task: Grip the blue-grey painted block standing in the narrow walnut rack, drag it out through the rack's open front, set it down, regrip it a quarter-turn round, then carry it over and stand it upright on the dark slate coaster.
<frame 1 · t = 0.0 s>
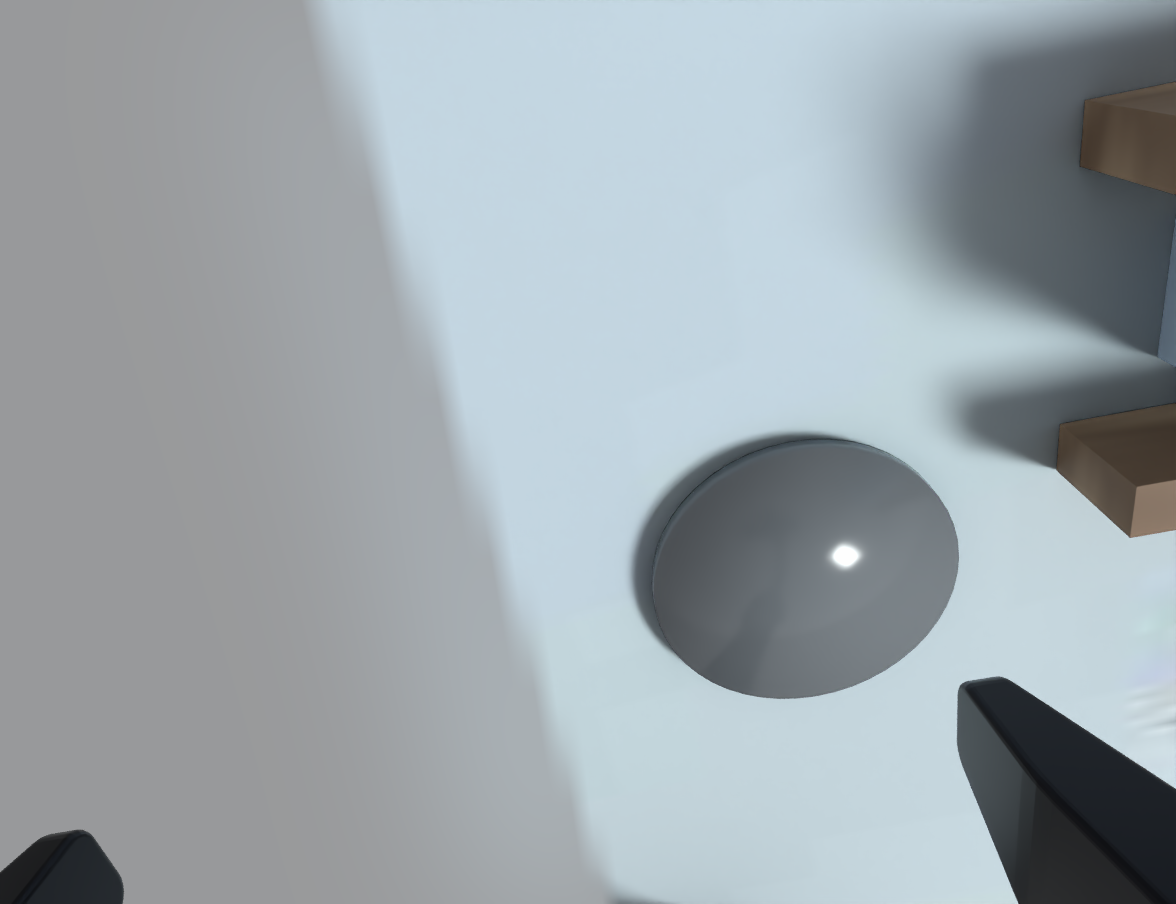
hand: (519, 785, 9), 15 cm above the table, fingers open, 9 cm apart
coaster: (800, 572, 26), on the table
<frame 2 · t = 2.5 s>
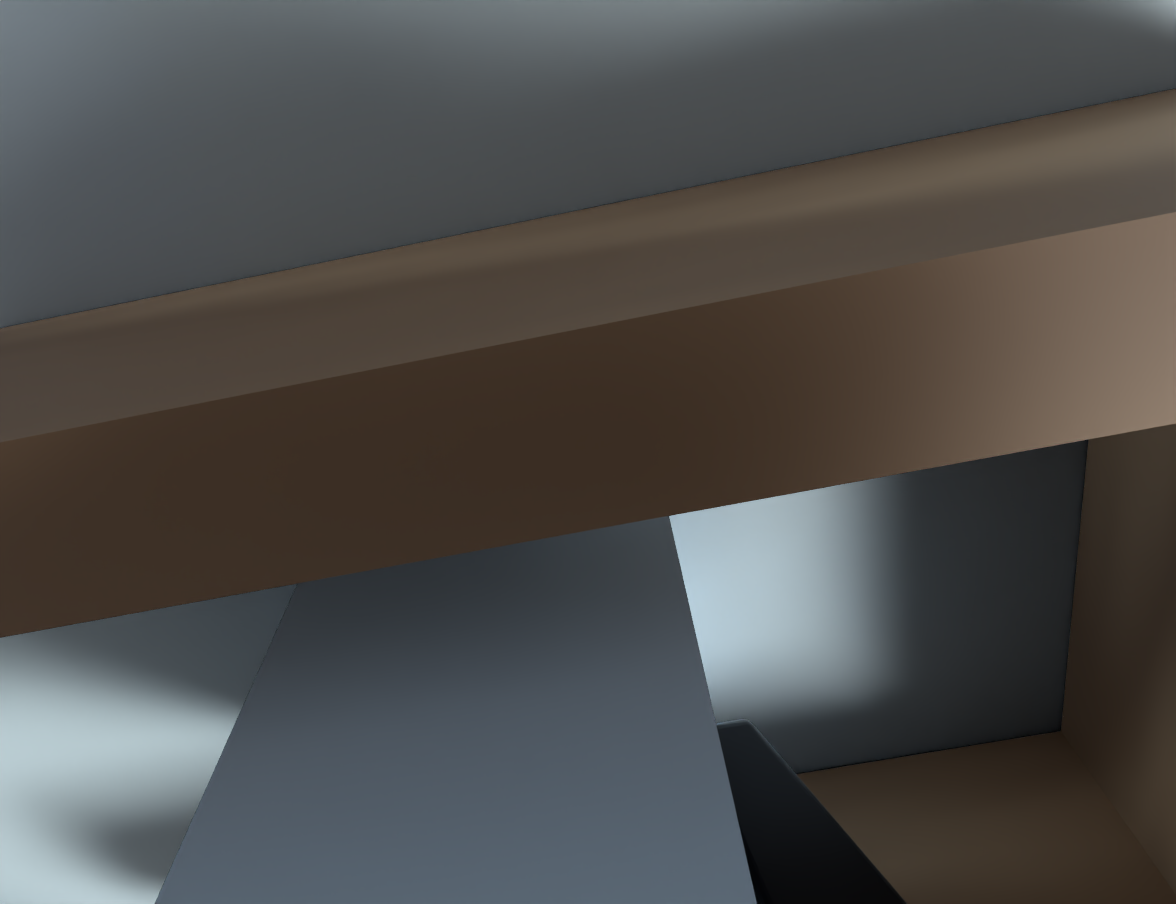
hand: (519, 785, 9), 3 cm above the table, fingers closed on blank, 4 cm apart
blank: (526, 624, 11), resting in rack, touching gripper
rack: (450, 639, 11), on the table
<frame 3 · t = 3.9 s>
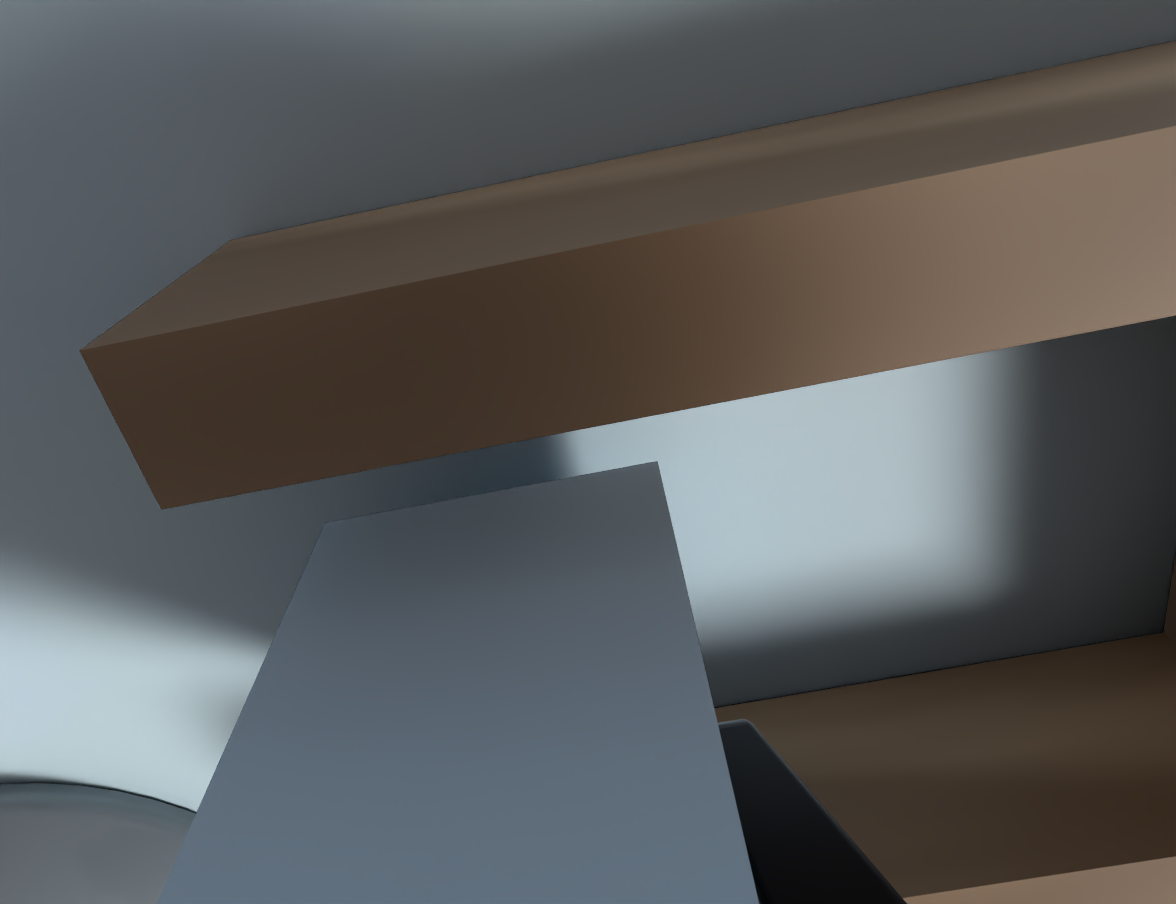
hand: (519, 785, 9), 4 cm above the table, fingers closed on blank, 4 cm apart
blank: (527, 624, 11), point 1 cm above the table, touching gripper
rack: (608, 540, 12), on the table
when the fingers open (3 cm above the table, at t = 5.5 s): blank stays where it is, on the table.
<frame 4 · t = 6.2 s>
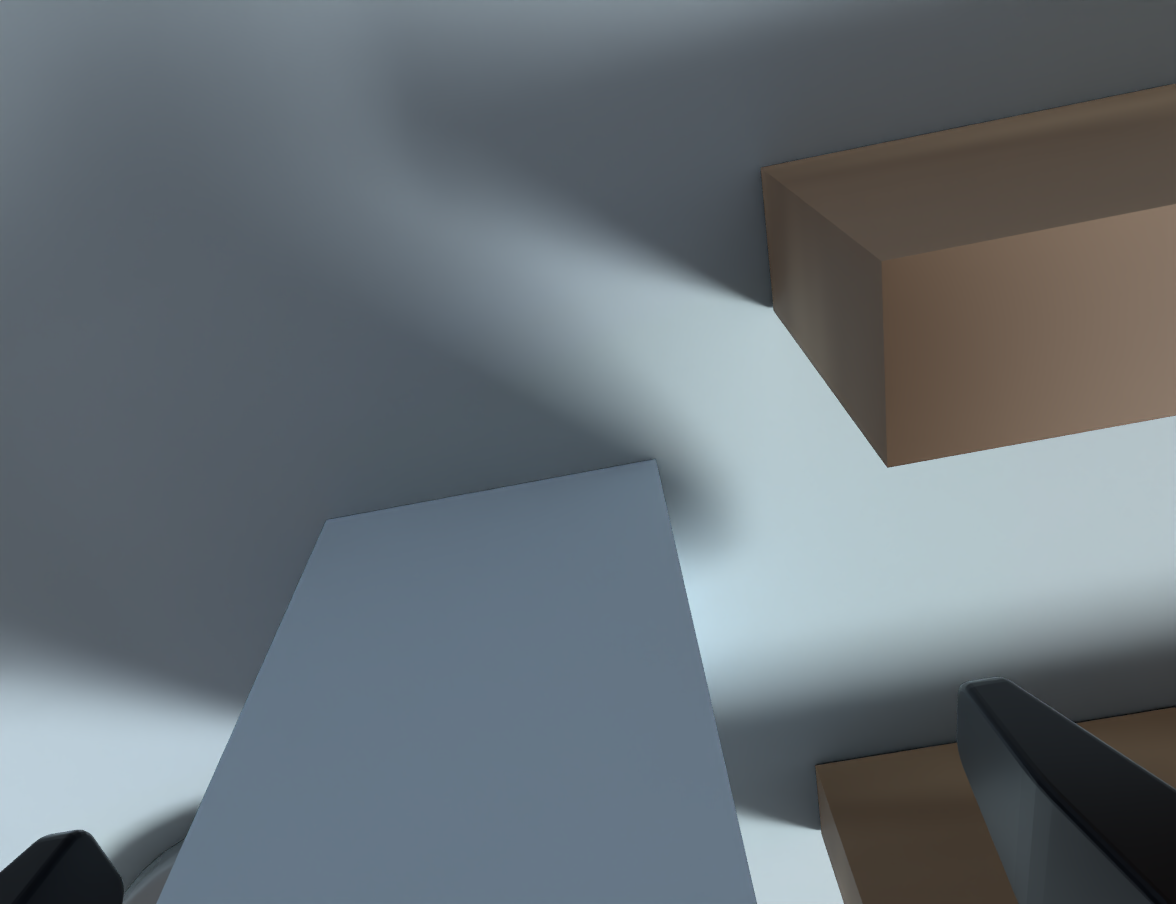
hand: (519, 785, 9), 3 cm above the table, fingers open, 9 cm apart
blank: (526, 620, 11), on the table
rack: (1078, 523, 10), on the table
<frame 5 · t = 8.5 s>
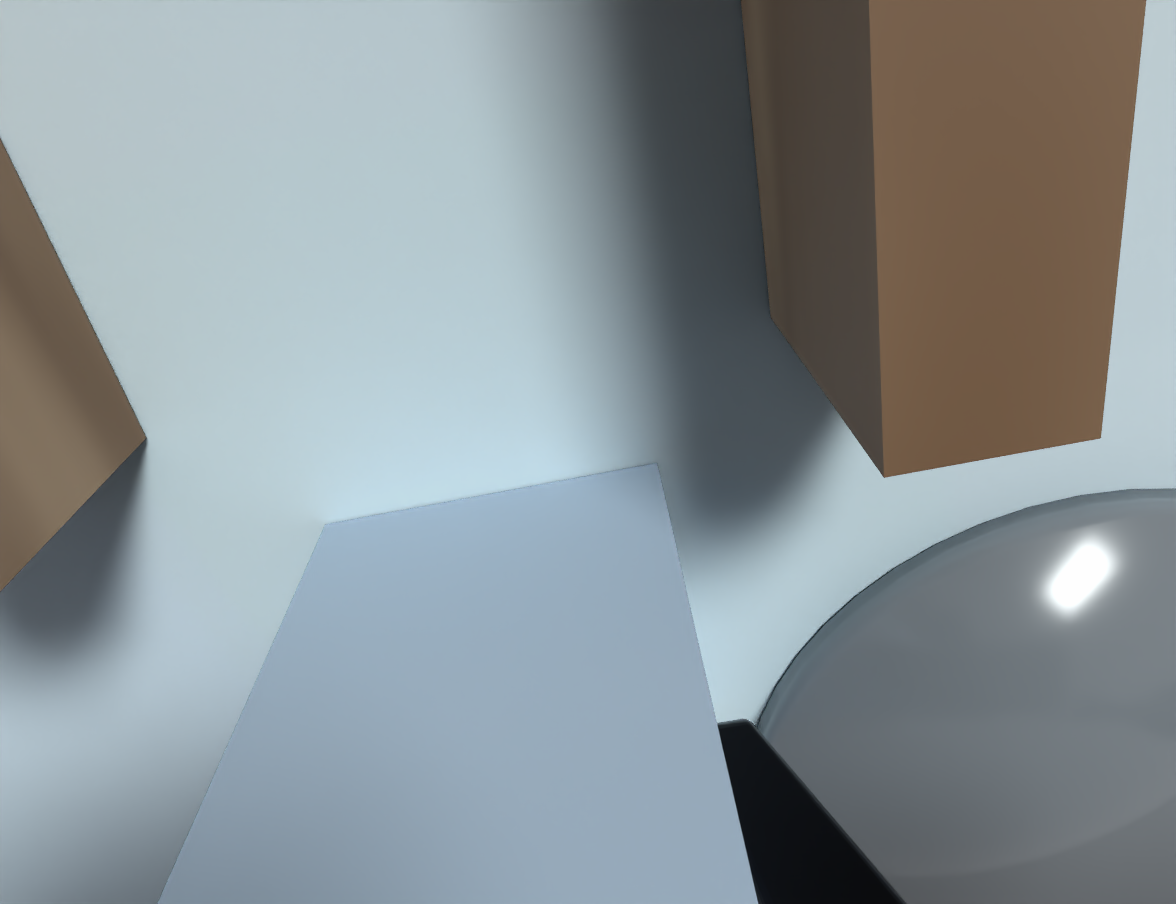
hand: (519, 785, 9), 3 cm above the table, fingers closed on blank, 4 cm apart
coaster: (1055, 756, 12), on the table
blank: (527, 625, 11), on the table, touching gripper
rack: (350, 26, 8), on the table
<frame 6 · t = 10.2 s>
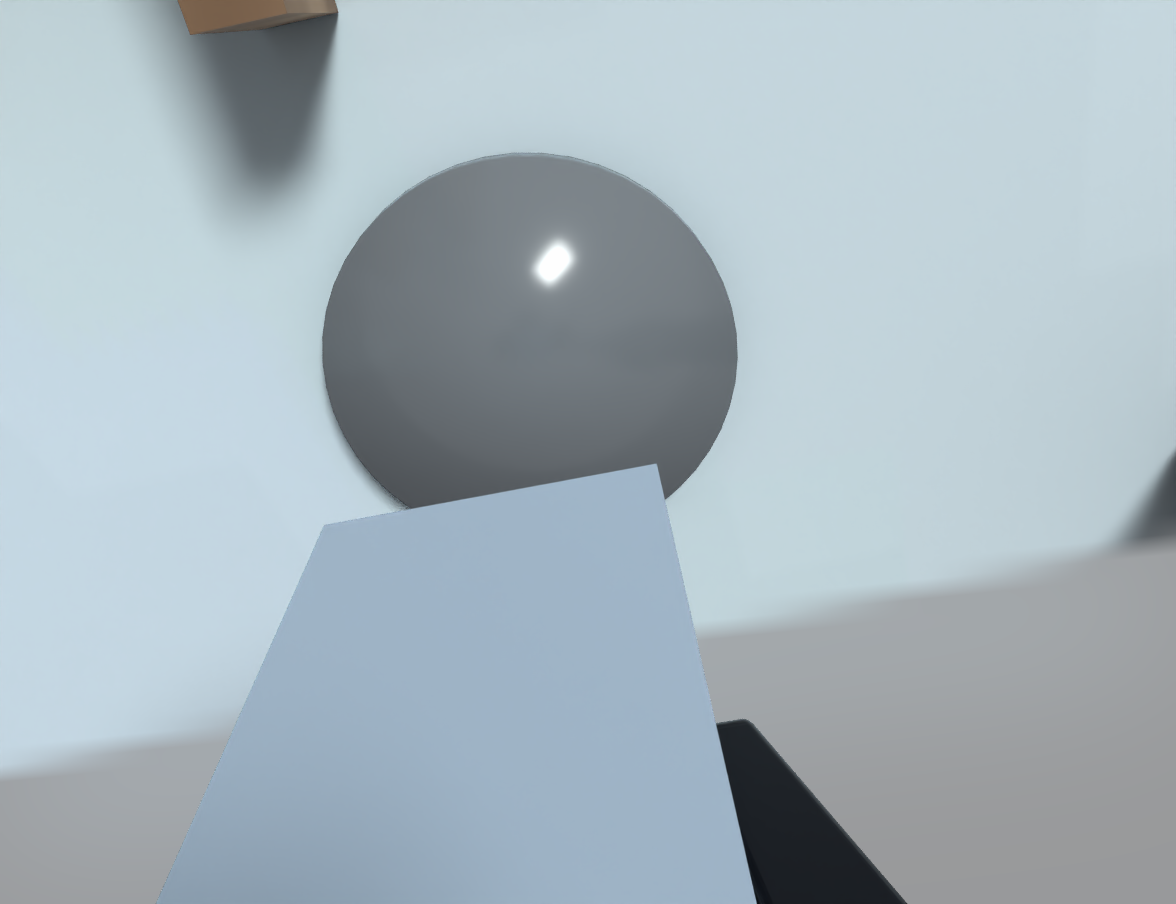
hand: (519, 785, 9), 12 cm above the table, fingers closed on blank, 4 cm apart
coaster: (532, 362, 19), on the table
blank: (526, 626, 11), point 9 cm above the table, touching gripper
when the fingers open (4 cm above the table, at t = 11.9 s): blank stays where it is, resting on coaster.
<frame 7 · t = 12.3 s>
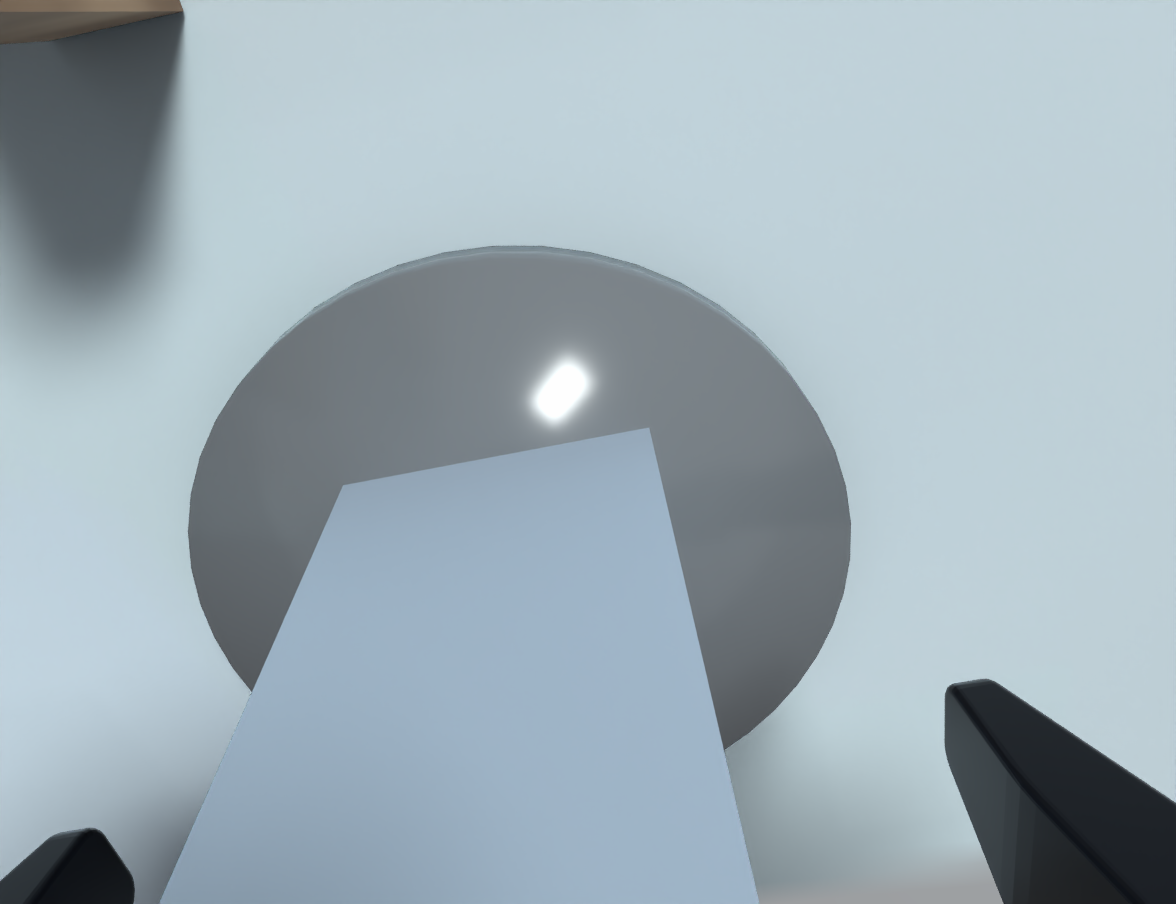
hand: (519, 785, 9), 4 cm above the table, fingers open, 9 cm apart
coaster: (527, 556, 12), on the table
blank: (529, 581, 12), point 1 cm above the table, touching coaster
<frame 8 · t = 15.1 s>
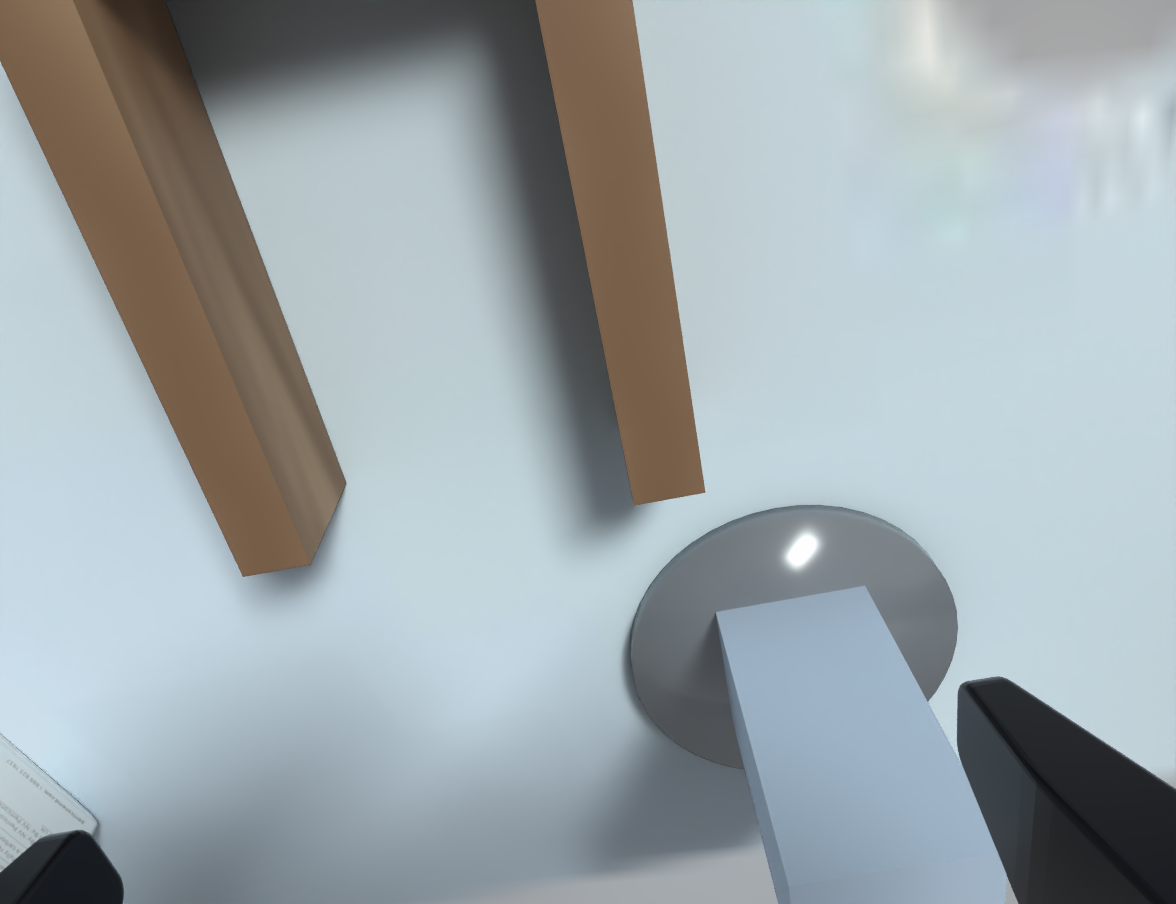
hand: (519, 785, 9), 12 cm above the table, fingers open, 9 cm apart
coaster: (788, 641, 24), on the table
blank: (795, 655, 23), point 1 cm above the table, touching coaster
rack: (445, 325, 19), on the table
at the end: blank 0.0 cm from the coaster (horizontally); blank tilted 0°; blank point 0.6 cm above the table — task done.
